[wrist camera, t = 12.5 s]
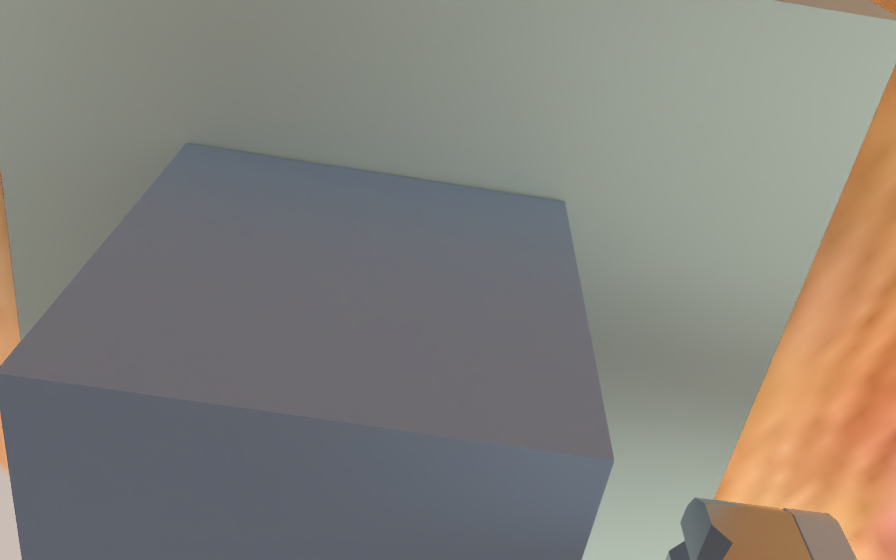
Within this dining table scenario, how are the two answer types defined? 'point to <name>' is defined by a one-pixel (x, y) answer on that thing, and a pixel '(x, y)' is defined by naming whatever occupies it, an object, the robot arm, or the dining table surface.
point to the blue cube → (311, 376)
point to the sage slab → (493, 164)
